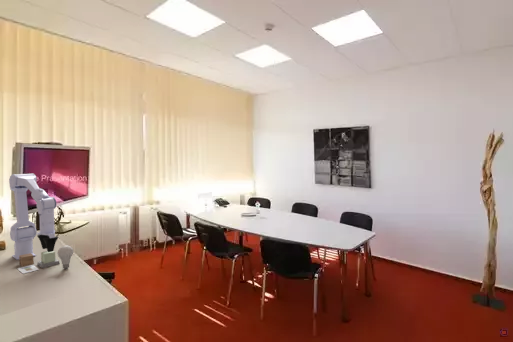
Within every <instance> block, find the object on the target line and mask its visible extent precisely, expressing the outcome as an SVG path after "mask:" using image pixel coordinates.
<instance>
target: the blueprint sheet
mask: <svg viewBox="0 0 513 342" xmlns="http://www.w3.org/2000/svg"><path fill="white" fill-rule="evenodd" d="M16 270H18V271H19V272H20V273H21V274H23V275H24V274H27V273H31V272H35V271H39V270H40V269H39V268H38V267H37V266H35V265H34V264H31V265H27V266H21V267H18V268H16Z"/></svg>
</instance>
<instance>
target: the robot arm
mask: <svg viewBox="0 0 513 342" xmlns="http://www.w3.org/2000/svg"><path fill="white" fill-rule="evenodd" d="M8 182H9V188H10V190H11V191H13V194H14V203H15V205H14V206H15V214H16V215H15V216H16V222H15V223H14V224H12V225H11V227H10V232H9V236H10V237H9V238H10V239H11V241H12V242H14V245H13V247H14V250H13V251H14V254H12V258H14V259H15V260H18V261H19V256H20V255H24V254H29V253H31V254H33V257H36V256H37V255H36V254H35V253H34V250H33V249H34V245H33V243H34V241H33V240H34V238H35V237H36V236H37V238H38V239H39V242H40V244H41V245H40V246H41V248H42V249H43V250H47V251H48V252H52V251H54V250H55V245H56V242H57V241H58V239H59V237H58V235H57V236H56V230H55V209H56V207H57V200H56V198H55V197H54V196H49V194H48V193H47V192H46V191H45V189H44V188H40V187H39V185H38V183H37V176H36V174H35V173H18V174H17V173H16V174H15V173H12V174H11V175H10V176H9V181H8ZM28 190H29V192H30V193H31V194H30V195H31V197H32V199H33V201H35V203H36V204H35V205H36V209H37V213H38V216H39V231H38V232H37V228H36V223H34V222H33V221H31V220H30V217H29V208H28V207H29V206H28V197H27V192H28Z"/></svg>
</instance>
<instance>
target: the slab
mask: <svg viewBox="0 0 513 342" xmlns="http://www.w3.org/2000/svg"><path fill="white" fill-rule="evenodd" d="M36 264H37V266H38V267H40V268H42V269H44V268H49V267H52V266H56V265H60V260H58V259H57V258H56V257H55V261H53V262H49V263H45V264H44V263H43V262H41V260H38V261H37V263H36Z"/></svg>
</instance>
